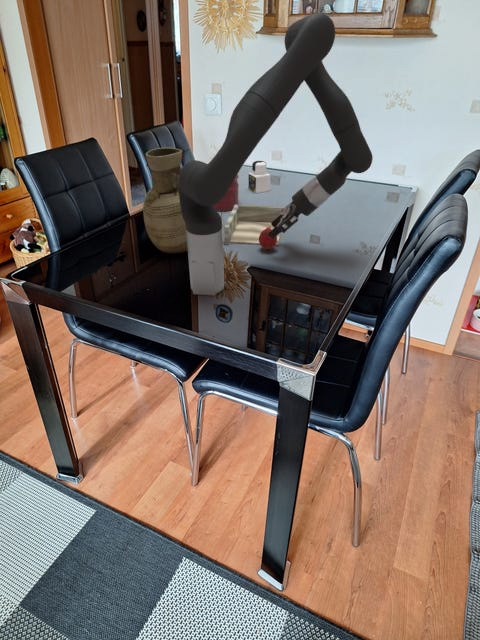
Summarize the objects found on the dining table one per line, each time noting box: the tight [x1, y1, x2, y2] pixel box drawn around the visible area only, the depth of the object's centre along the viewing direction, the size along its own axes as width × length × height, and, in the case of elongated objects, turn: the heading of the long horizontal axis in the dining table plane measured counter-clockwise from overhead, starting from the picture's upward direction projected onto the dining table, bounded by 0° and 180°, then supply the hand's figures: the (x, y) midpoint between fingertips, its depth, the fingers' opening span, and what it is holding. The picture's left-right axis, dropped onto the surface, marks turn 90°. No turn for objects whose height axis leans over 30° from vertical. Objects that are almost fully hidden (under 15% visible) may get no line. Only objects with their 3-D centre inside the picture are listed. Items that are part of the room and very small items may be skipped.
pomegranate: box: [259, 226, 277, 251], centre depth 136 cm, size 6×6×8 cm
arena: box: [223, 204, 286, 246], centre depth 148 cm, size 21×18×6 cm
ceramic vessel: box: [142, 147, 188, 254], centre depth 134 cm, size 19×21×30 cm
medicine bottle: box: [248, 160, 271, 194], centre depth 186 cm, size 7×7×12 cm
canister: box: [214, 173, 240, 212], centre depth 168 cm, size 13×13×18 cm
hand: (271, 230), depth 135 cm, fingers open, 8 cm apart
